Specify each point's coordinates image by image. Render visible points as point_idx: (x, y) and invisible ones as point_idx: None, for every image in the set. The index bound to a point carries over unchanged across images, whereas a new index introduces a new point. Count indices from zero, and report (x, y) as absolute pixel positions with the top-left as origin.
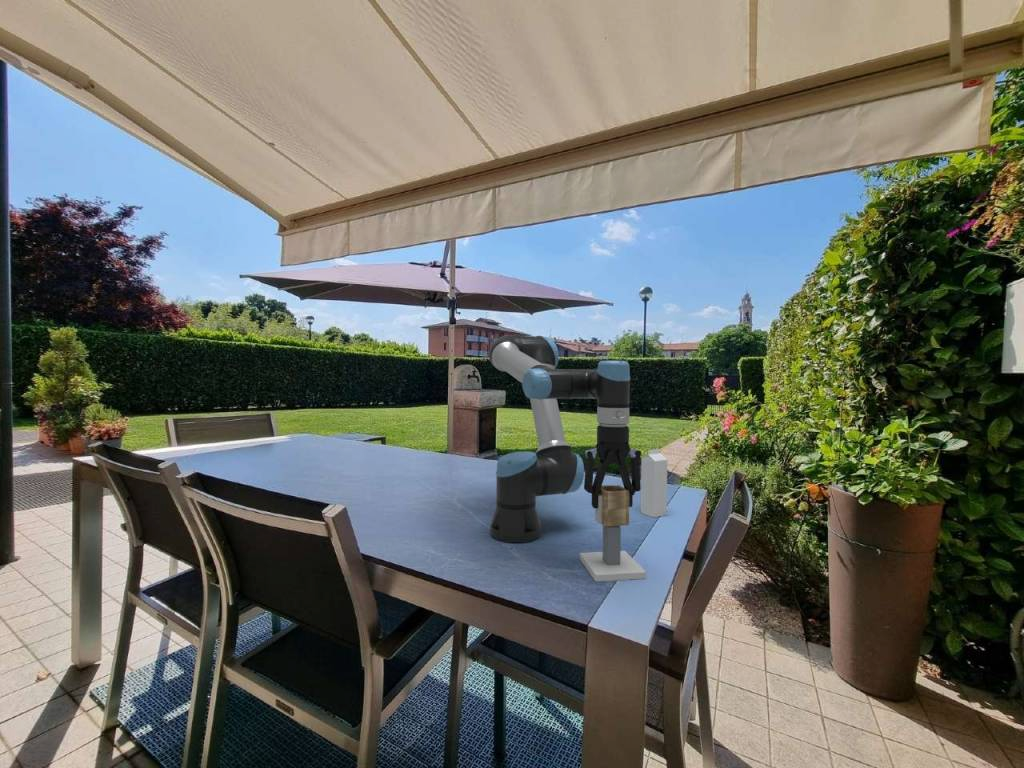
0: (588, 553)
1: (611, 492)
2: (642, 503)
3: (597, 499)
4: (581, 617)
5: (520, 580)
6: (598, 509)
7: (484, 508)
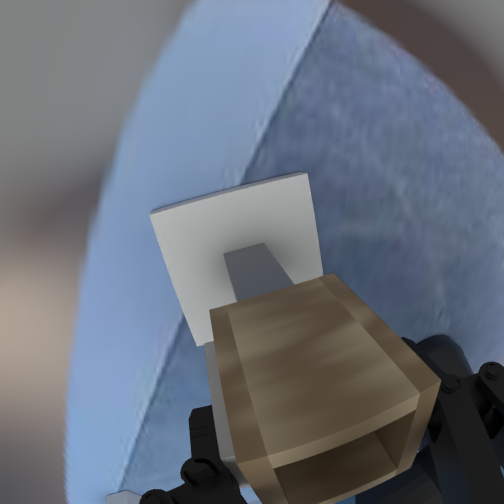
0: None
1: (393, 403)
2: None
3: None
4: (345, 17)
5: (447, 171)
6: None
7: None
